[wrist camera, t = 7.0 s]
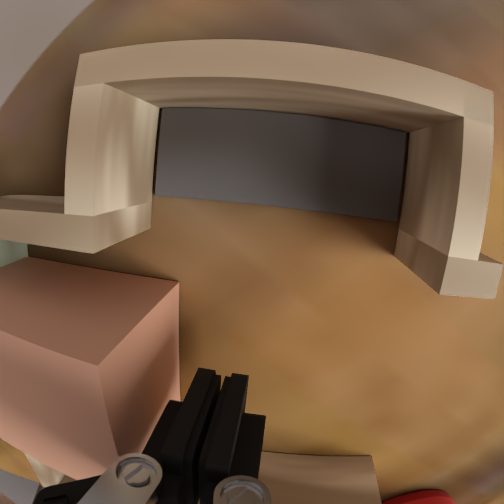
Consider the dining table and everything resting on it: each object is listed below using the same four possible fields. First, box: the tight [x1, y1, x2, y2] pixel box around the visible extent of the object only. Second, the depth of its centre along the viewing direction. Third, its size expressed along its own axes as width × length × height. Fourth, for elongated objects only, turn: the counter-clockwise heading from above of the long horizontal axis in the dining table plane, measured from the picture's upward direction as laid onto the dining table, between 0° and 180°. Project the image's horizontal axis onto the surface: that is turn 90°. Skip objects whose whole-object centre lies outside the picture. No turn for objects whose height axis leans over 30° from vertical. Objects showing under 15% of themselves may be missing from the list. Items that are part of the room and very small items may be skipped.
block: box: [0, 256, 180, 480], centre depth 10 cm, size 6×8×6 cm
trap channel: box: [0, 39, 504, 504], centre depth 11 cm, size 22×19×4 cm
